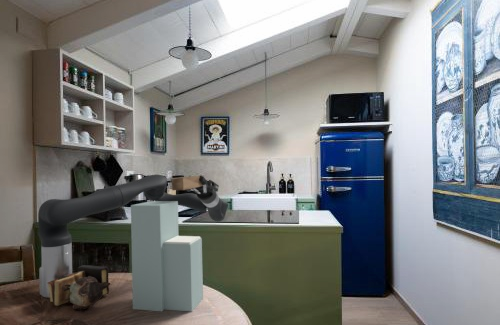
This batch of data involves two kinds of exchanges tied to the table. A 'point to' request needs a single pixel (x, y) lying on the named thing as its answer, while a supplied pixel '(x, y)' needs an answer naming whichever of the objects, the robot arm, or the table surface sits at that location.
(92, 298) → the bookend
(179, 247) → the stand
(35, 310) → the table surface
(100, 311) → the table surface
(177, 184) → the walnut bar
